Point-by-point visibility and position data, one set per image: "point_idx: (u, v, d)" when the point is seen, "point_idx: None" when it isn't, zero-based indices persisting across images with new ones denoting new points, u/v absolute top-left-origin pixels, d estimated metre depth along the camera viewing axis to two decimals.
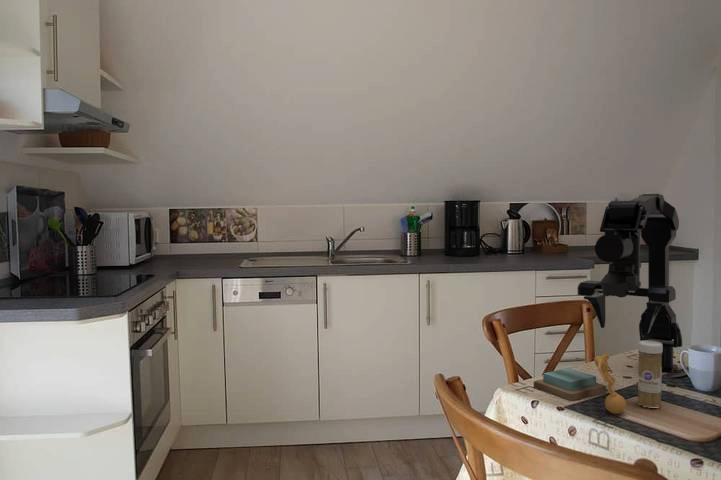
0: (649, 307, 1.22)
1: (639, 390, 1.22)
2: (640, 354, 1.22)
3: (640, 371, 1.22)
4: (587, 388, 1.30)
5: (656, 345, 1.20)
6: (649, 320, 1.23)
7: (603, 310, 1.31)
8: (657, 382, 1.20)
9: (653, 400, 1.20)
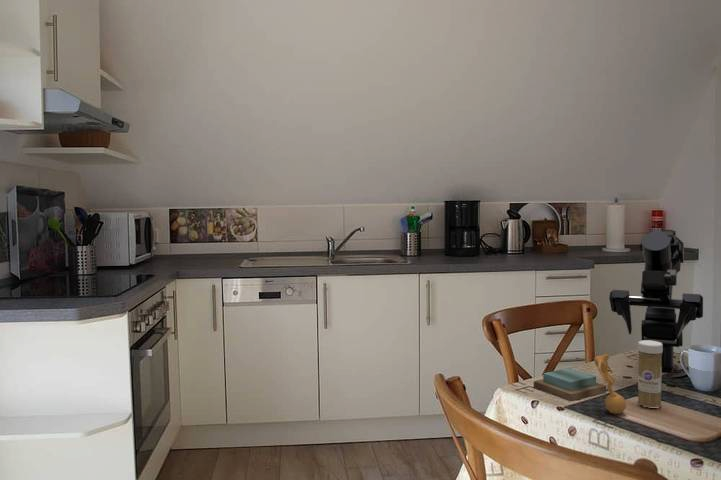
0: (682, 309, 1.28)
1: (639, 390, 1.22)
2: (640, 354, 1.22)
3: (640, 371, 1.22)
4: (587, 388, 1.30)
5: (656, 345, 1.20)
6: (680, 323, 1.27)
7: None
8: (657, 382, 1.20)
9: (653, 400, 1.20)
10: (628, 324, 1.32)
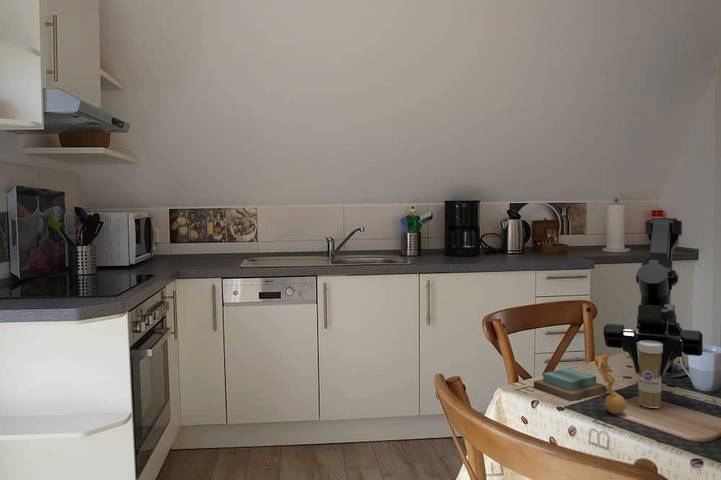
0: (667, 345, 1.21)
1: (639, 390, 1.22)
2: (640, 354, 1.22)
3: (640, 371, 1.22)
4: (587, 388, 1.30)
5: (656, 345, 1.20)
6: (666, 360, 1.20)
7: None
8: (657, 382, 1.20)
9: (653, 400, 1.20)
10: (635, 363, 1.23)
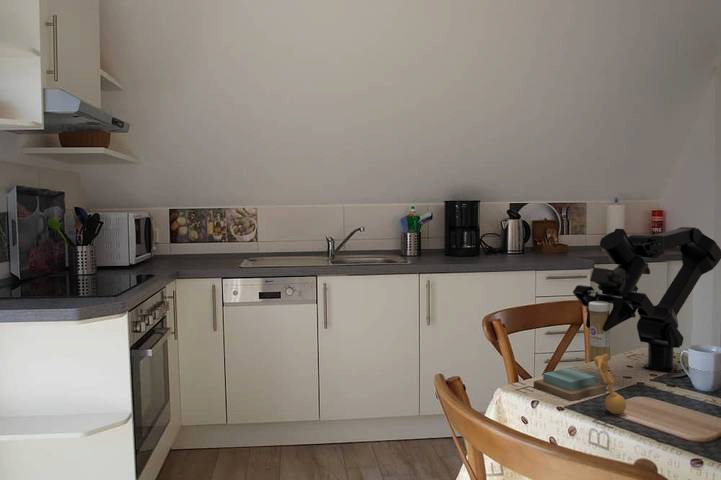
0: (614, 304, 1.35)
1: None
2: None
3: (590, 327, 1.38)
4: (587, 388, 1.30)
5: (598, 304, 1.35)
6: (610, 317, 1.34)
7: None
8: (600, 337, 1.35)
9: (597, 353, 1.36)
10: (587, 318, 1.39)
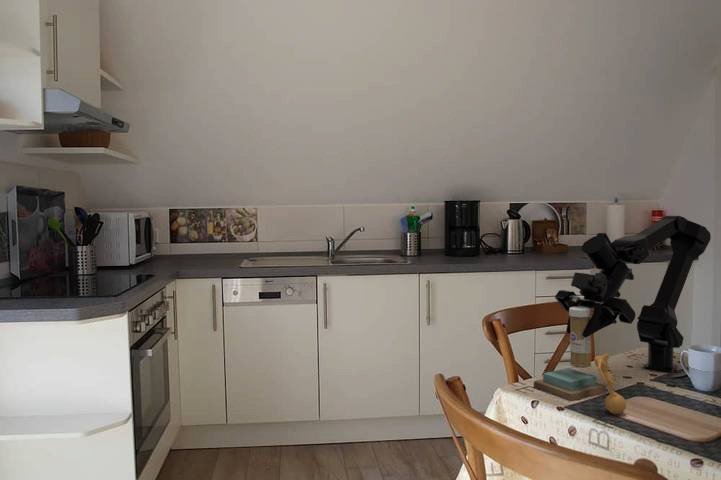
0: (595, 310, 1.32)
1: None
2: None
3: (570, 333, 1.36)
4: (587, 388, 1.30)
5: (578, 309, 1.33)
6: (590, 323, 1.32)
7: None
8: (580, 343, 1.33)
9: (577, 359, 1.33)
10: (568, 324, 1.37)
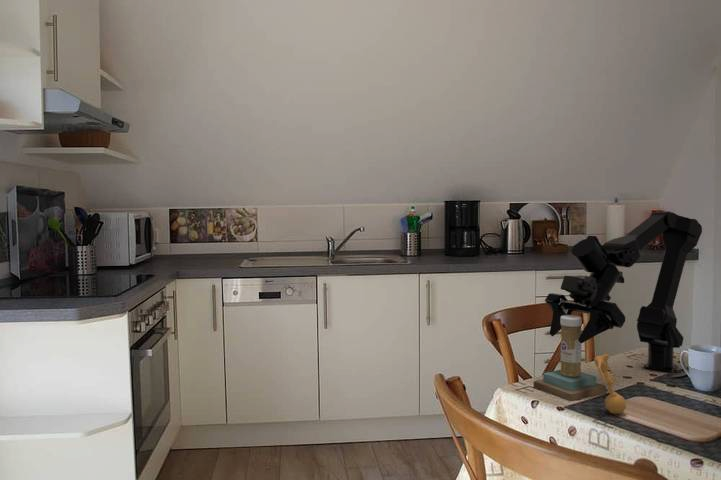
0: (591, 315, 1.29)
1: None
2: None
3: (561, 342, 1.34)
4: (587, 388, 1.30)
5: (570, 319, 1.31)
6: (586, 328, 1.29)
7: None
8: (570, 352, 1.31)
9: (567, 369, 1.32)
10: (551, 326, 1.37)
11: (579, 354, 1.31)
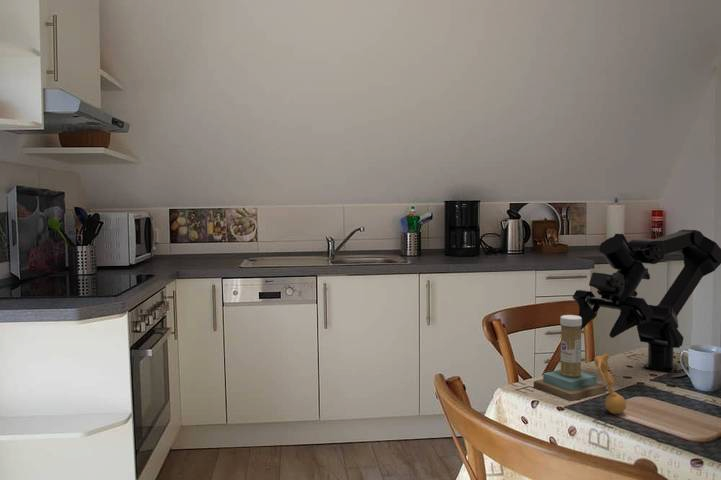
0: (622, 310, 1.33)
1: None
2: None
3: (561, 342, 1.34)
4: (587, 388, 1.30)
5: (570, 319, 1.31)
6: (617, 323, 1.33)
7: (586, 318, 1.43)
8: (570, 352, 1.31)
9: (567, 369, 1.32)
10: None
11: (579, 354, 1.31)
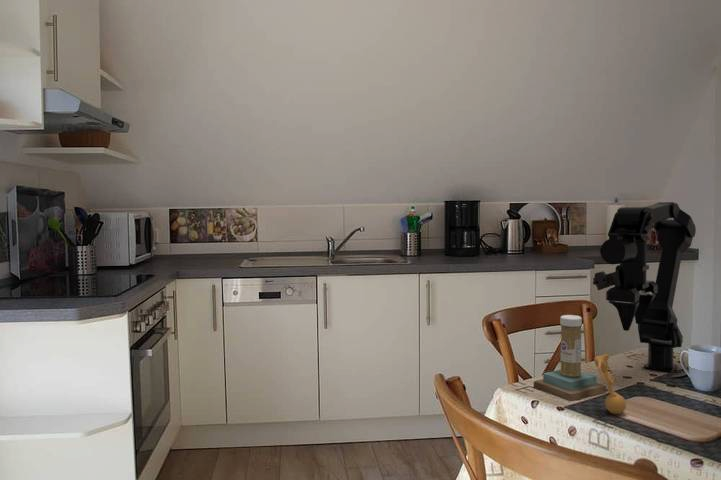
0: None
1: None
2: None
3: (561, 342, 1.34)
4: (587, 388, 1.30)
5: (570, 319, 1.31)
6: None
7: (641, 308, 1.41)
8: (570, 352, 1.31)
9: (567, 369, 1.32)
10: None
11: (579, 354, 1.31)
